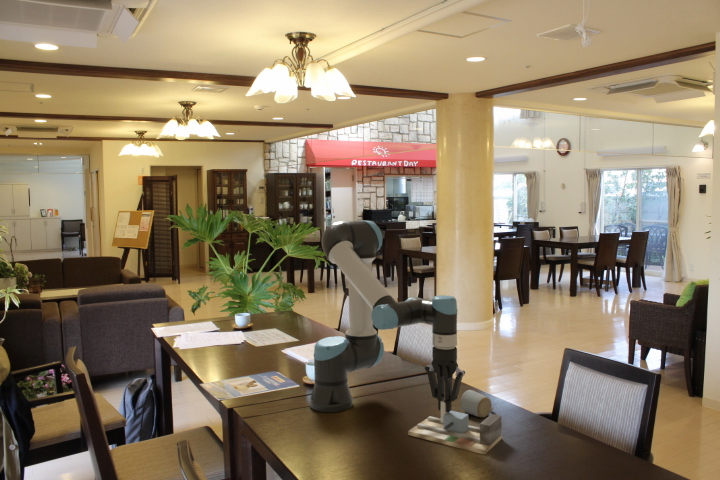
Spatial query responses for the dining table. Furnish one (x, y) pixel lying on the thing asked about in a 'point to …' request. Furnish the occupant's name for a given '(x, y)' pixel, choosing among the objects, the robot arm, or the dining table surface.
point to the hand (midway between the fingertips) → (444, 421)
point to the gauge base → (471, 440)
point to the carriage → (455, 422)
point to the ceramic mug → (476, 404)
